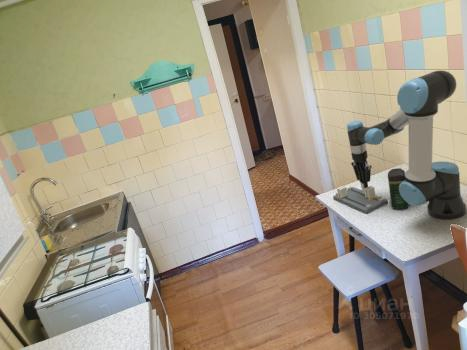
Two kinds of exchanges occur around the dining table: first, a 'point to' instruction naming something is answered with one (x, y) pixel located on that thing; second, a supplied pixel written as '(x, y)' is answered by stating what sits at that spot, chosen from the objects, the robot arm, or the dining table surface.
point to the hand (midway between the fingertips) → (365, 193)
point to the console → (361, 200)
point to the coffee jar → (396, 188)
